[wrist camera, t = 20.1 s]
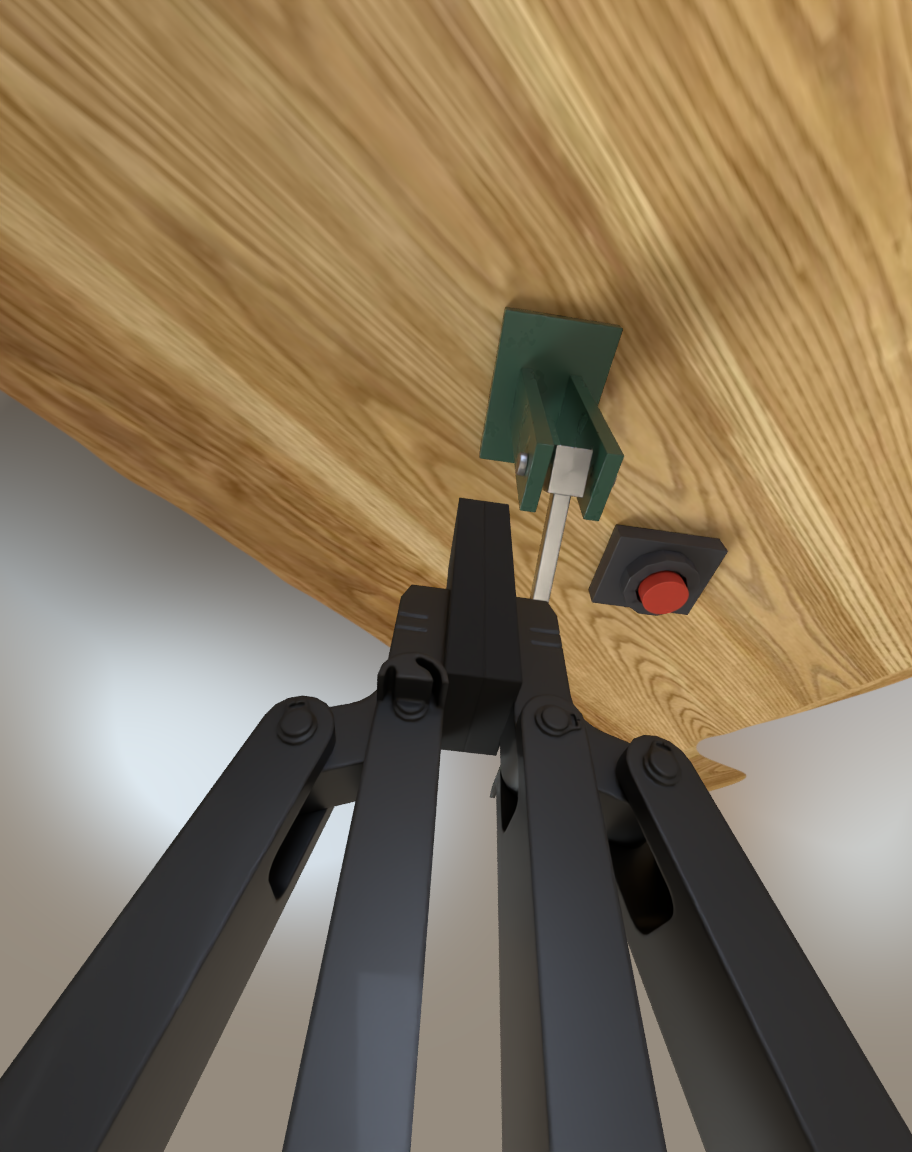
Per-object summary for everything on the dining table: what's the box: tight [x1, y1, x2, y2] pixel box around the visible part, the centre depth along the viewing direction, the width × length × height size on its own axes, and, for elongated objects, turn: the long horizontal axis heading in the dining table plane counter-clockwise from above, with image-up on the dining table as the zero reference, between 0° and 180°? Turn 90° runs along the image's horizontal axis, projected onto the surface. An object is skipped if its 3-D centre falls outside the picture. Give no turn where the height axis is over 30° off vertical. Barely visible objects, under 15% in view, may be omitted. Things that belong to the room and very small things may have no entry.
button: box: [638, 571, 689, 614], centre depth 47 cm, size 4×4×2 cm
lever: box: [530, 445, 593, 603], centre depth 30 cm, size 17×4×4 cm, turn 173°
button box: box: [589, 525, 728, 616], centre depth 49 cm, size 11×9×4 cm
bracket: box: [480, 307, 624, 521], centre depth 33 cm, size 12×9×16 cm
